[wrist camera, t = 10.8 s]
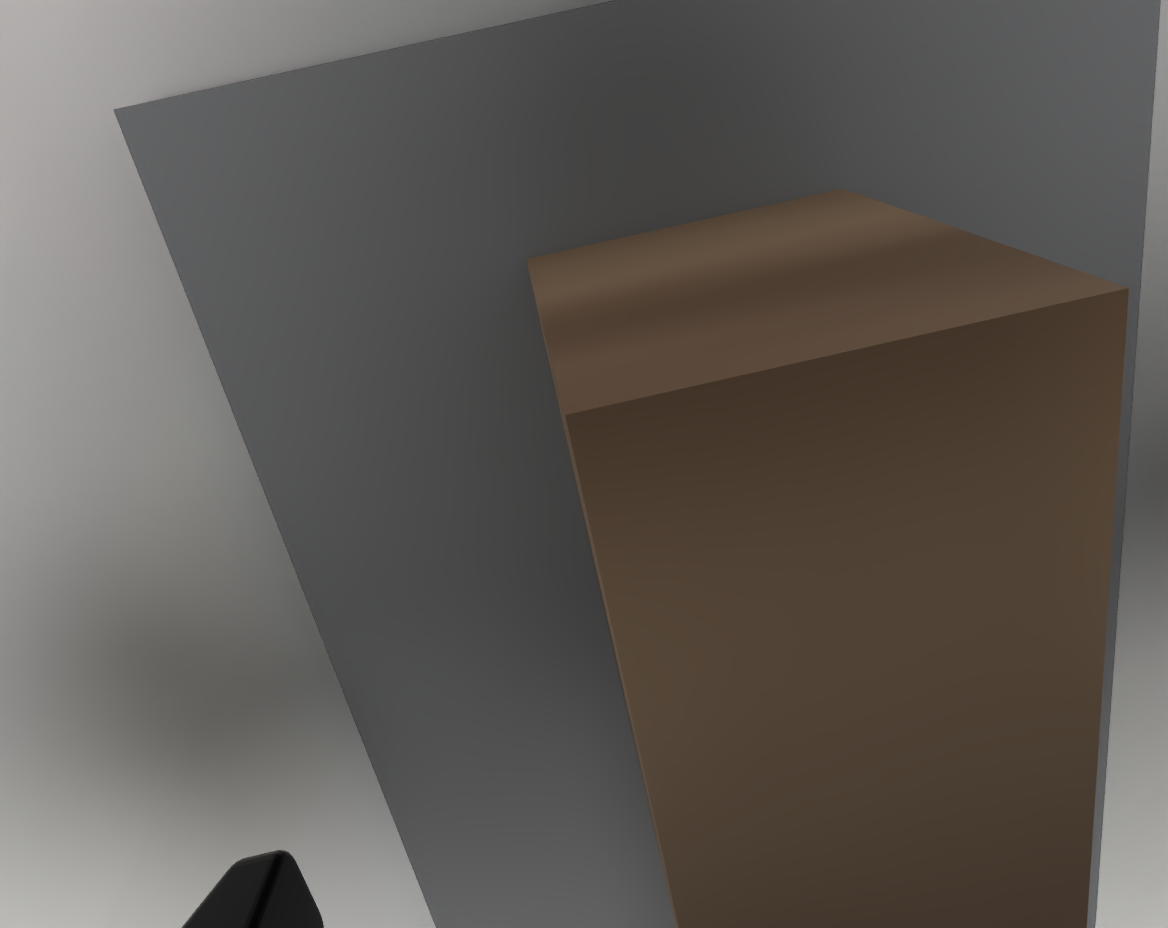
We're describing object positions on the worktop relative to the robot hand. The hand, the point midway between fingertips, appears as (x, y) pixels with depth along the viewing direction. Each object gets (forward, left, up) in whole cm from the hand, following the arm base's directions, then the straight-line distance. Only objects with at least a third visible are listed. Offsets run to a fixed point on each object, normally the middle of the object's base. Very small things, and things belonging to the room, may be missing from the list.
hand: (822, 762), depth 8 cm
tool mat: (0, +6, -4) cm, 7 cm away
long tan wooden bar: (0, +5, -3) cm, 6 cm away
